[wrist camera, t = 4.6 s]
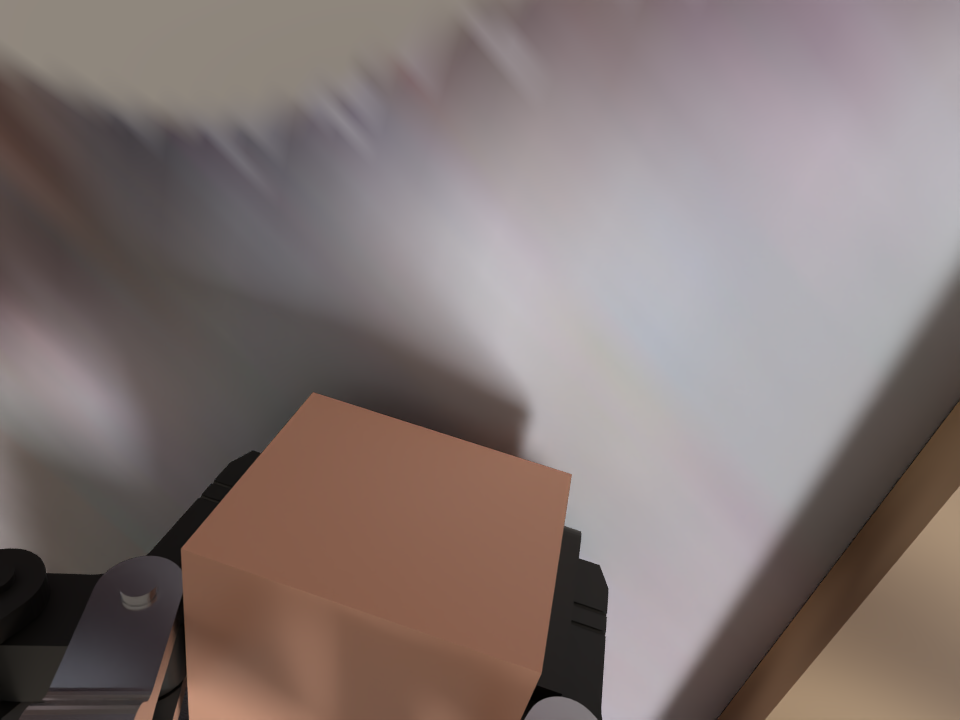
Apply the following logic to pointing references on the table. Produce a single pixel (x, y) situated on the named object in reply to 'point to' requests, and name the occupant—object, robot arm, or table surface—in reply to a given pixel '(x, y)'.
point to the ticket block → (372, 576)
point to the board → (878, 613)
